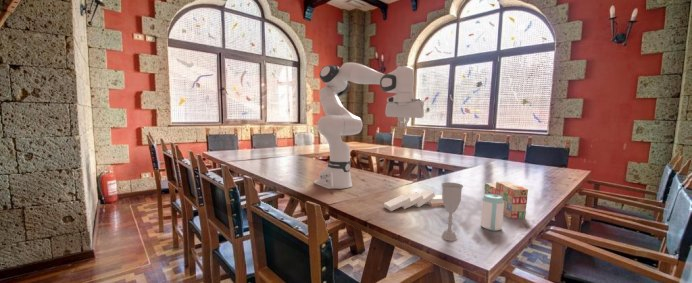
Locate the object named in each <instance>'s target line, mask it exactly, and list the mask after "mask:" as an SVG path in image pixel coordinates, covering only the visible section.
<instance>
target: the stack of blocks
mask: <svg viewBox="0 0 692 283" xmlns="http://www.w3.org/2000/svg"><path fill="white" fill-rule="evenodd" d="M528 192H529V189H528V188H525V187H523V186H522V185H519V184H517V183H514V182H511V181H496V182H485V184H484V195H485V194H496V195H500V196H502V199H503V201H504V210H503V216H506V217H507V218H509V219H526V215H527V204H528V194H529V193H528Z"/></svg>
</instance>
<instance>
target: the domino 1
mask: <svg viewBox="0 0 692 283" xmlns="http://www.w3.org/2000/svg"><path fill="white" fill-rule="evenodd" d="M407 196H408V195H406V194H403V193H402V194H401V195H399V196H397V197H394V198H392V199H389V201H385V202H384V203H383V205H384V207H385V208H386V209H387V210H388V211H389V212H393V211H394V210H397V209H399V208H402V207H401V206H404V205H406V204H408V203H410V202H411V200H410V198H409V197H407Z"/></svg>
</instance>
